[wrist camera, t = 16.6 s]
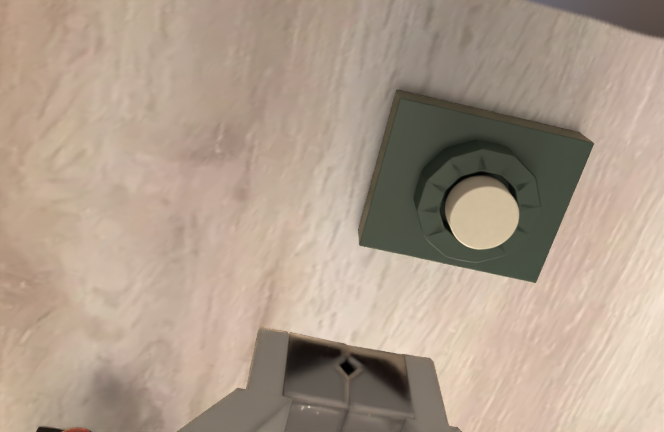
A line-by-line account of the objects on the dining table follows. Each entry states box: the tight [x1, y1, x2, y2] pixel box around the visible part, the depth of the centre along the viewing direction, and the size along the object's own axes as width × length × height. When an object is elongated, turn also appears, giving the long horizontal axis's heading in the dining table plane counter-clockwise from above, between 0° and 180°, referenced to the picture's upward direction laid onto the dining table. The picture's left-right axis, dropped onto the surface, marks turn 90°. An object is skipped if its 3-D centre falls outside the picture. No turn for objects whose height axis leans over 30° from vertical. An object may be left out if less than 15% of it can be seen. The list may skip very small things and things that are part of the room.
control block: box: [358, 90, 594, 283], centre depth 35 cm, size 11×9×4 cm
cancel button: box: [445, 175, 519, 249], centre depth 32 cm, size 4×4×2 cm
